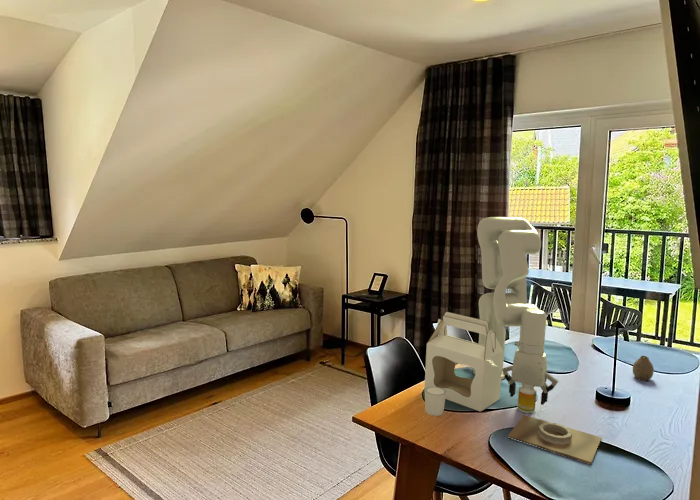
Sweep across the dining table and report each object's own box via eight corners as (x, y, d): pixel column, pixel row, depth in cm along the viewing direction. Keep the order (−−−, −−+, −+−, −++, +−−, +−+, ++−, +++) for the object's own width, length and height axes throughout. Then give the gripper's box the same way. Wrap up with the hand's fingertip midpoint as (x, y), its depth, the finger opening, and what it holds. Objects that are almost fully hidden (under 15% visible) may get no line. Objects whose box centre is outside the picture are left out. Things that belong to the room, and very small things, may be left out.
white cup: (432, 418, 153) (433, 396, 152) (419, 409, 159) (420, 388, 158) (449, 414, 156) (450, 393, 155) (436, 405, 162) (437, 384, 161)
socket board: (507, 438, 143) (508, 429, 142) (523, 417, 156) (524, 408, 155) (591, 465, 130) (592, 455, 130) (601, 439, 143) (602, 430, 143)
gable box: (423, 391, 173) (427, 313, 169) (443, 380, 183) (448, 306, 179) (481, 412, 158) (487, 327, 154) (500, 399, 168) (506, 319, 164)
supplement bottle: (536, 414, 158) (538, 385, 156) (518, 412, 159) (520, 383, 157) (533, 406, 163) (535, 378, 162) (516, 405, 164) (518, 377, 163)
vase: (633, 380, 188) (635, 358, 187) (630, 374, 194) (632, 352, 193) (654, 383, 185) (656, 361, 184) (650, 377, 192) (653, 355, 190)
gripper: (500, 345, 160) (497, 396, 162) (557, 357, 150) (552, 410, 152) (507, 340, 166) (504, 389, 168) (562, 350, 156) (558, 402, 158)
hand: (527, 399), depth 160 cm, fingers open, 9 cm apart
